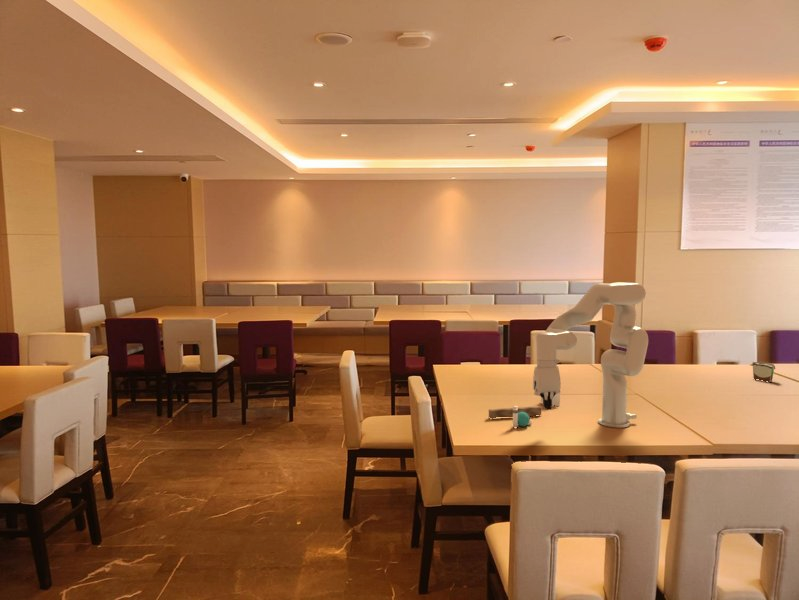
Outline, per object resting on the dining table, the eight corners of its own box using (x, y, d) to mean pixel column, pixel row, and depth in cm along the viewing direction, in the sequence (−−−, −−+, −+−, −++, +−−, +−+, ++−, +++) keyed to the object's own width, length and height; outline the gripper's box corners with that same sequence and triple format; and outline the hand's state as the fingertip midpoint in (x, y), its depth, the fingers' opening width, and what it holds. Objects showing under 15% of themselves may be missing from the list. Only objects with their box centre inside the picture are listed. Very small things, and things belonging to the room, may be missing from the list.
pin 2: (533, 422, 230) (524, 416, 239) (529, 419, 229) (520, 413, 238) (530, 426, 230) (522, 420, 239) (526, 424, 229) (518, 417, 238)
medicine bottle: (555, 402, 266) (555, 378, 265) (559, 406, 259) (560, 381, 258) (540, 402, 266) (540, 378, 265) (545, 406, 259) (545, 381, 258)
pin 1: (516, 426, 228) (516, 405, 227) (518, 428, 226) (518, 407, 225) (511, 427, 228) (511, 406, 227) (513, 428, 226) (513, 407, 225)
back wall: (539, 414, 245) (539, 406, 245) (541, 416, 243) (541, 407, 243) (488, 418, 240) (488, 409, 240) (490, 419, 238) (490, 410, 238)
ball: (517, 410, 233) (526, 407, 228) (524, 422, 233) (534, 419, 228) (509, 418, 229) (519, 415, 225) (517, 430, 229) (527, 427, 224)
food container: (780, 382, 304) (780, 365, 303) (772, 383, 301) (773, 365, 300) (758, 378, 315) (759, 361, 314) (751, 379, 313) (751, 361, 312)
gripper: (559, 360, 221) (560, 404, 222) (525, 363, 218) (526, 407, 219) (568, 363, 213) (569, 409, 215) (533, 366, 210) (534, 413, 212)
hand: (547, 408), depth 217 cm, fingers closed
